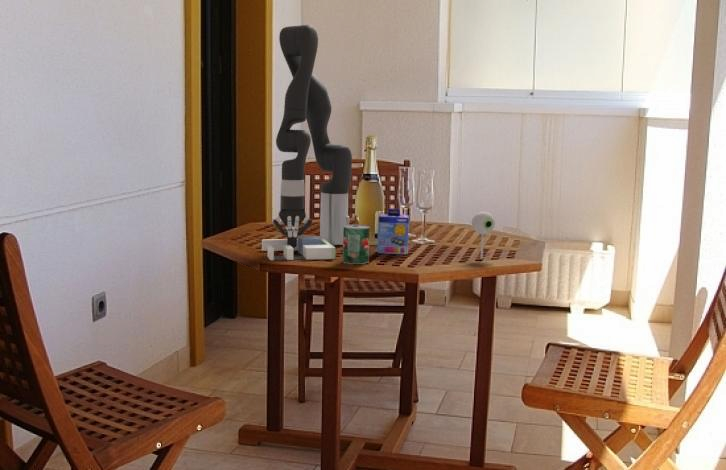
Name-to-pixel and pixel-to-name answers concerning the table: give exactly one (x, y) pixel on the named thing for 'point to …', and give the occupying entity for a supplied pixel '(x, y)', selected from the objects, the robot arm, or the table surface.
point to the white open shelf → (308, 250)
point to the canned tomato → (356, 244)
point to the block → (307, 242)
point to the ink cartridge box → (393, 233)
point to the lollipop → (483, 225)
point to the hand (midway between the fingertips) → (291, 248)
